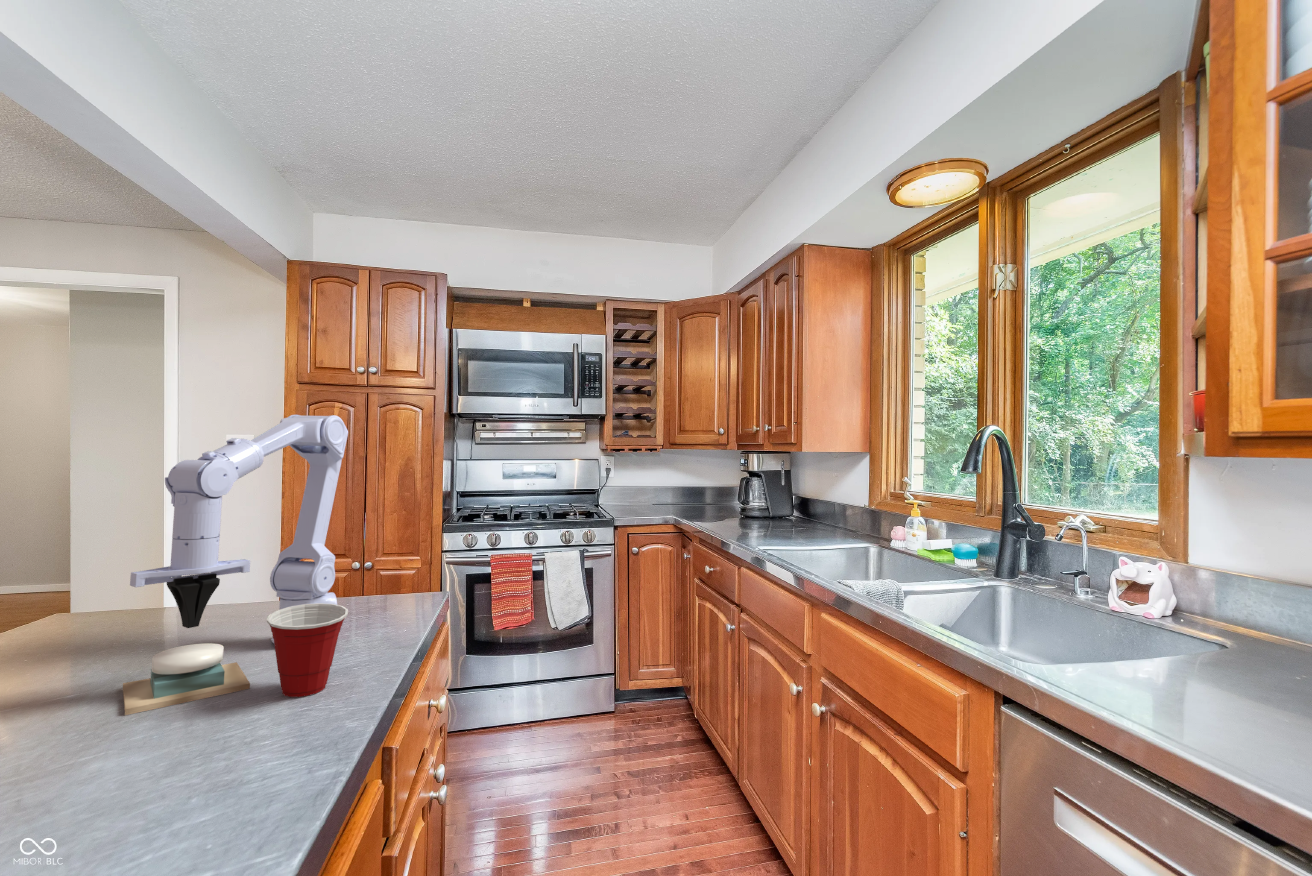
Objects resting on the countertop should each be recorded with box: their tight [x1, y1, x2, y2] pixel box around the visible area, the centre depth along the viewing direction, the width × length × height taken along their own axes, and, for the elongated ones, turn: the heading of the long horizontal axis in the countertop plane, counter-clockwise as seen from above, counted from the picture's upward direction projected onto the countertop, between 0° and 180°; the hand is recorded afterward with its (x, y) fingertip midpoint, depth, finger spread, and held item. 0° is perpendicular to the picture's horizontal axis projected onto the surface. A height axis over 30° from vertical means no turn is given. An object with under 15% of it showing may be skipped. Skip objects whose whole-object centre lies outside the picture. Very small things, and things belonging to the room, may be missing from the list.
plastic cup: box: [266, 603, 349, 698], centre depth 87 cm, size 11×11×12 cm
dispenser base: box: [122, 662, 251, 716], centre depth 86 cm, size 14×12×3 cm
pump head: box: [151, 642, 225, 674], centre depth 86 cm, size 8×8×4 cm
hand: (190, 626), depth 86 cm, fingers closed
